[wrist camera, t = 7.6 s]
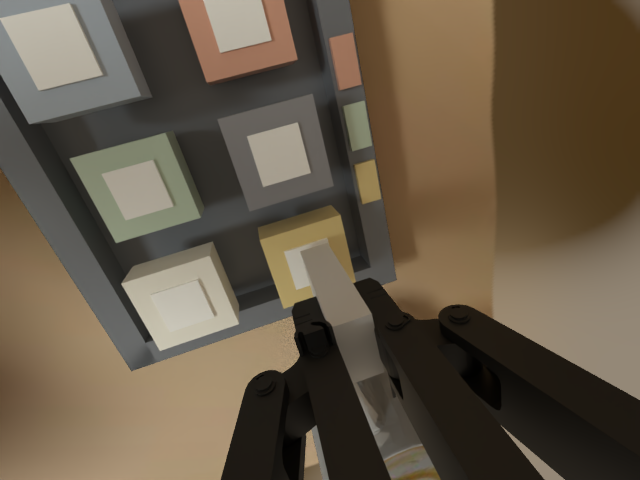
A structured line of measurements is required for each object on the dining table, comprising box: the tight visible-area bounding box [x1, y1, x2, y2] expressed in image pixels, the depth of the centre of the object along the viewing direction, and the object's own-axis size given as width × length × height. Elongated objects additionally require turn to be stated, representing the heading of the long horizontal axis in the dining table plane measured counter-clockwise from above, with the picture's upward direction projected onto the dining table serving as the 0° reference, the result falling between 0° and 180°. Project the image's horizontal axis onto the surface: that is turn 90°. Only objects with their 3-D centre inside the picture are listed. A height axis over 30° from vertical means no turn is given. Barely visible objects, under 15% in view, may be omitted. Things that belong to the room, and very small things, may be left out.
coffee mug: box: [312, 365, 441, 480], centre depth 24 cm, size 13×10×10 cm
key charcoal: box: [217, 94, 334, 211], centre depth 17 cm, size 4×4×2 cm
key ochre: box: [258, 205, 356, 309], centre depth 19 cm, size 4×4×2 cm
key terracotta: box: [178, 0, 298, 85], centre depth 15 cm, size 4×4×2 cm
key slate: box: [0, 0, 152, 124], centre depth 13 cm, size 4×4×2 cm
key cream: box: [121, 242, 239, 351], centre depth 18 cm, size 4×4×2 cm
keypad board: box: [0, 0, 397, 371], centre depth 19 cm, size 18×21×3 cm
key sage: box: [70, 131, 204, 243], centre depth 17 cm, size 4×4×2 cm
